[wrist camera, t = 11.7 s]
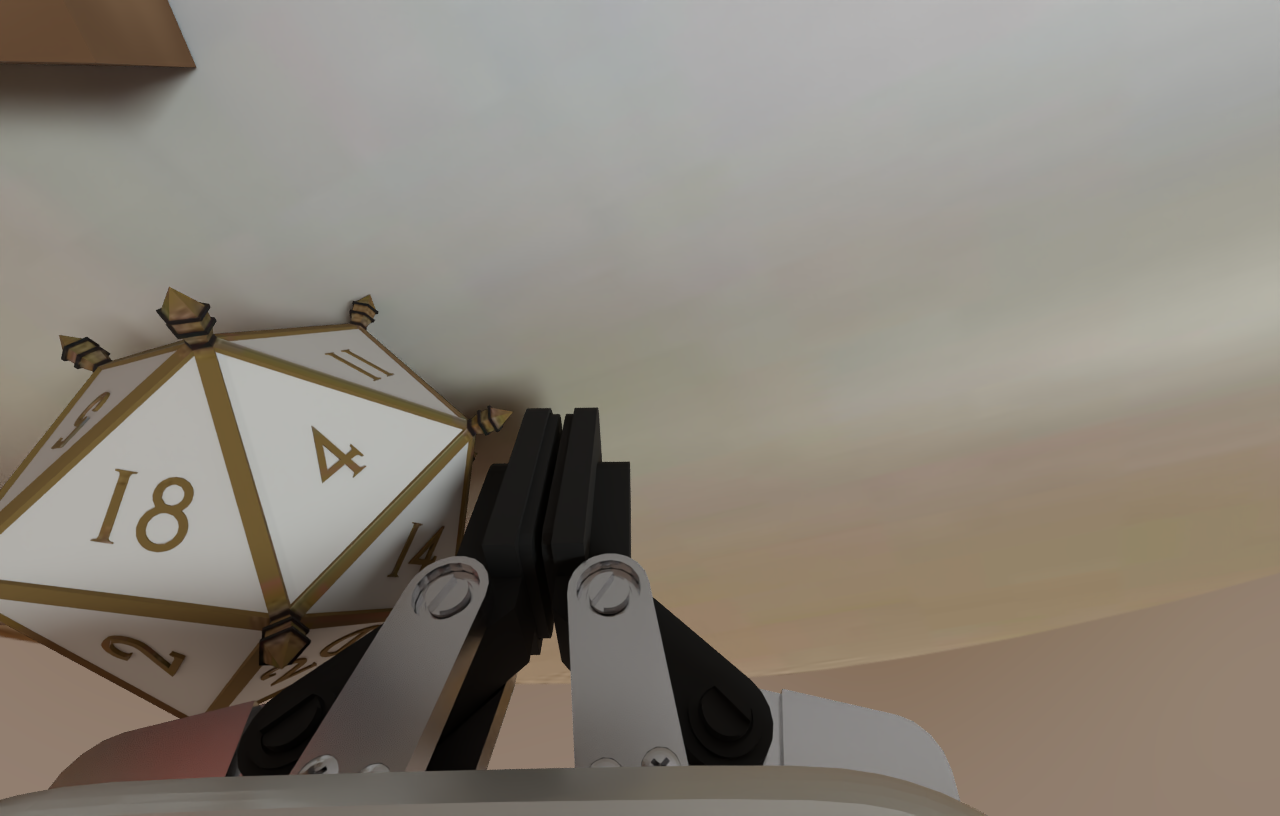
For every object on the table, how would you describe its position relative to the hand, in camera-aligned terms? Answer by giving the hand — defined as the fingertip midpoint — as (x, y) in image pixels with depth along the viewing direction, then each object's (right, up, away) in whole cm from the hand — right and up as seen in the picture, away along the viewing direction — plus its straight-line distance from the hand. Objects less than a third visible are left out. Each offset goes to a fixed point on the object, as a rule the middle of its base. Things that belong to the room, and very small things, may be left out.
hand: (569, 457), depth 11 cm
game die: (-6, +2, +2) cm, 6 cm away
